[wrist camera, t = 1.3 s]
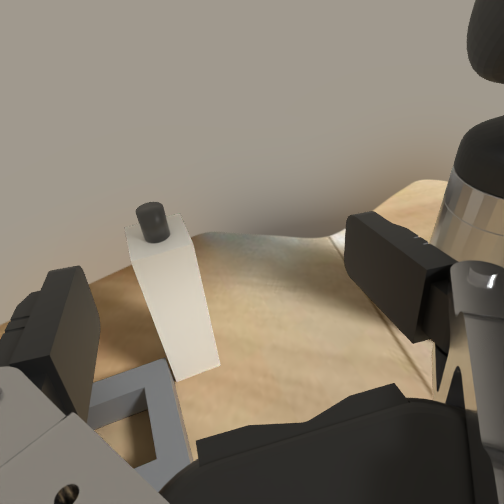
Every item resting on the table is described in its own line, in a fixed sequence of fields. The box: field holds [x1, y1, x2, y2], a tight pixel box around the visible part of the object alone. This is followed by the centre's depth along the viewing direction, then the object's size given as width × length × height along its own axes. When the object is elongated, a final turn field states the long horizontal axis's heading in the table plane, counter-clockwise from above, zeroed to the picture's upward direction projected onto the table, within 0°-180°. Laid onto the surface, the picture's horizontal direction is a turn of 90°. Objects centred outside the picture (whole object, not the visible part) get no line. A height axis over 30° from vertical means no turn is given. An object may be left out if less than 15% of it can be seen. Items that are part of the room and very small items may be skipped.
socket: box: [87, 358, 194, 492], centre depth 30 cm, size 11×11×4 cm
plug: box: [124, 202, 221, 382], centre depth 33 cm, size 5×5×18 cm
